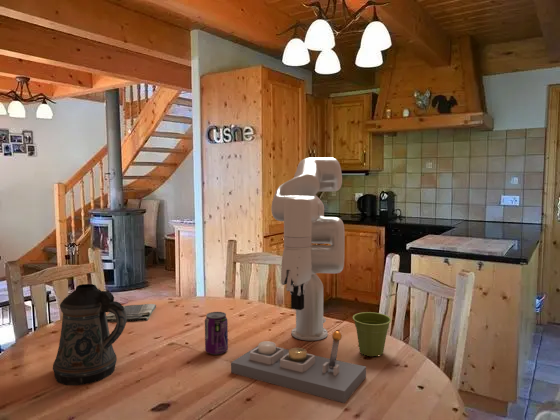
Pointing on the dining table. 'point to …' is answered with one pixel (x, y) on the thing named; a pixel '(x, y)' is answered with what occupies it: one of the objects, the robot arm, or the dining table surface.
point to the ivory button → (266, 347)
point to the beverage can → (216, 333)
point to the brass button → (297, 354)
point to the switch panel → (302, 373)
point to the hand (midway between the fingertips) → (297, 308)
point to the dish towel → (135, 313)
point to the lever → (334, 348)
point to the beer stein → (87, 336)
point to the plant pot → (371, 332)
